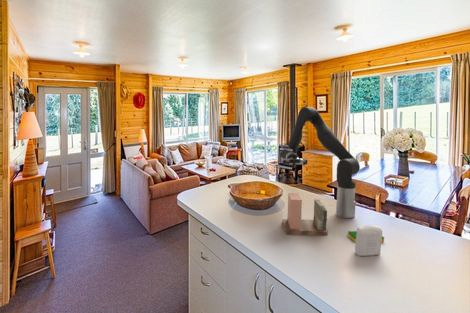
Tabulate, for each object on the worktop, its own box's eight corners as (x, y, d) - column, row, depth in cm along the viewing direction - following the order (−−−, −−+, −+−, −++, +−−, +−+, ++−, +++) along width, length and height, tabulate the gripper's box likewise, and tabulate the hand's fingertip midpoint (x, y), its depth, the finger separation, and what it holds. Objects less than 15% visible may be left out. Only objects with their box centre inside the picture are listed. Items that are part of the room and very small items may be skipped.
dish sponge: (384, 242, 119) (384, 237, 119) (354, 242, 119) (354, 237, 119) (376, 235, 126) (376, 231, 126) (347, 235, 126) (347, 231, 126)
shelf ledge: (319, 223, 140) (321, 198, 137) (327, 235, 126) (329, 207, 124) (282, 222, 141) (283, 197, 139) (285, 234, 127) (286, 206, 125)
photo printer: (375, 250, 112) (377, 222, 110) (382, 255, 108) (384, 227, 106) (353, 251, 111) (355, 224, 109) (359, 257, 107) (361, 228, 105)
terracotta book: (296, 220, 139) (297, 193, 137) (300, 229, 128) (301, 199, 126) (287, 220, 139) (288, 193, 137) (290, 228, 128) (291, 199, 126)
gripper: (281, 152, 165) (284, 156, 149) (303, 153, 164) (309, 157, 148) (280, 164, 167) (284, 169, 151) (303, 164, 166) (308, 170, 150)
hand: (296, 163), depth 150 cm, fingers open, 8 cm apart
